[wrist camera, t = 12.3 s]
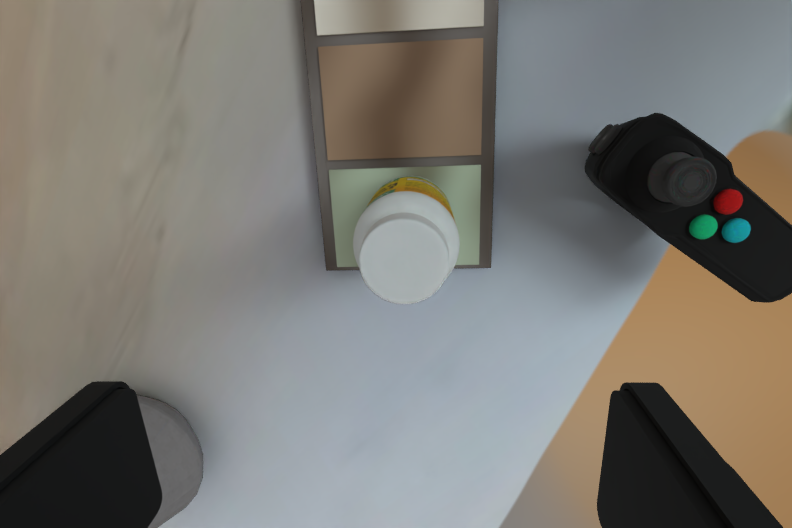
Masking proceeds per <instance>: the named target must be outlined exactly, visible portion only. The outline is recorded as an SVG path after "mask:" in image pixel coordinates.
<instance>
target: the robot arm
mask: <svg viewBox="0 0 792 528" xmlns="http://www.w3.org/2000/svg"><path fill="white" fill-rule="evenodd" d="M161 503H162V489H161V485H160V482H159V478H158V474H157V470H156V467H155V463H154V459H153V455H152V451H151V448H150V444H149V440H148V436H147V432H146V429H145V425H144V421H143V417H142V414H141V410H140V406H139V402H138V398H137V395H136V393H135V391H134V390H132V389H130V388H129V386H128V385H127V384H126V383H124V382H92V383H90V384H88V385H87V386H85V387H84V388H83V389H82V390H80V391H79V392H78V393H77V394H75V395H74V396H73V397H72V398H70V399H69V400H68V401H67V402H66V403H64V404H63V405H62V406H61V407H59V408H58V409H57V410H56V411H54V412H53V413H52V414H51V415H49V416H48V417H47V418H46V419H44V420H43V421H42V422H41V423H40V424H38V425H37V426H36V427H35V428H33V429H32V430H31V431H30V432H28V433H27V434H26V435H25V436H23V437H22V438H21V439H20V440H18V441H17V442H16V443H15V444H13V445H12V446H11V447H10V448H9V449H7V450H6V451H5V452H4V453H2V454H1V455H0V528H148V527H149V525H150V524H151V522H152V521H153V519H154V518H155V516H156V515H157V513H158V511H159V509H160V507H161ZM597 511H598V516H599V520H600V524H601V526H602V528H783V527H782V526H781V524H780V523H779V522H778V521H777V520H776V519H775V517H774V516H773V515H772V514H771V513H770V512H769V510H768V509H767V508H766V507H765V506H764V504H763V503H762V502H761V501H760V500H759V498H758V497H757V496H756V495H755V494H754V493H753V492H752V490H751V489H750V488H749V487H748V486H747V484H746V483H745V482H744V481H743V480H742V478H741V477H740V476H739V475H738V474H737V473H736V471H735V470H734V469H733V468H732V467H730V465H729V464H727V463H726V462H725V461H724V460H723V458H722V457H721V456H720V455H719V454H718V452H717V451H716V450H715V449H714V448H713V447H712V445H711V444H710V443H709V442H708V441H707V439H706V438H705V437H704V436H703V435H702V434H701V432H700V431H699V430H698V429H697V428H696V426H695V425H694V424H693V423H692V422H691V420H690V419H689V418H688V417H687V416H686V414H685V413H684V412H683V411H682V410H681V409H680V408H679V406H678V405H677V404H676V403H675V401H674V400H673V399H672V398H671V397H670V395H669V394H668V393H667V392H666V391H665V390H664V388H663V387H662V386H661V385H660V384H658V383H624V384H622V386H621V388H620V391H613V392H612V394H611V398H610V405H609V413H608V421H607V428H606V437H605V445H604V452H603V460H602V467H601V475H600V483H599V492H598V499H597Z"/></svg>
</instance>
